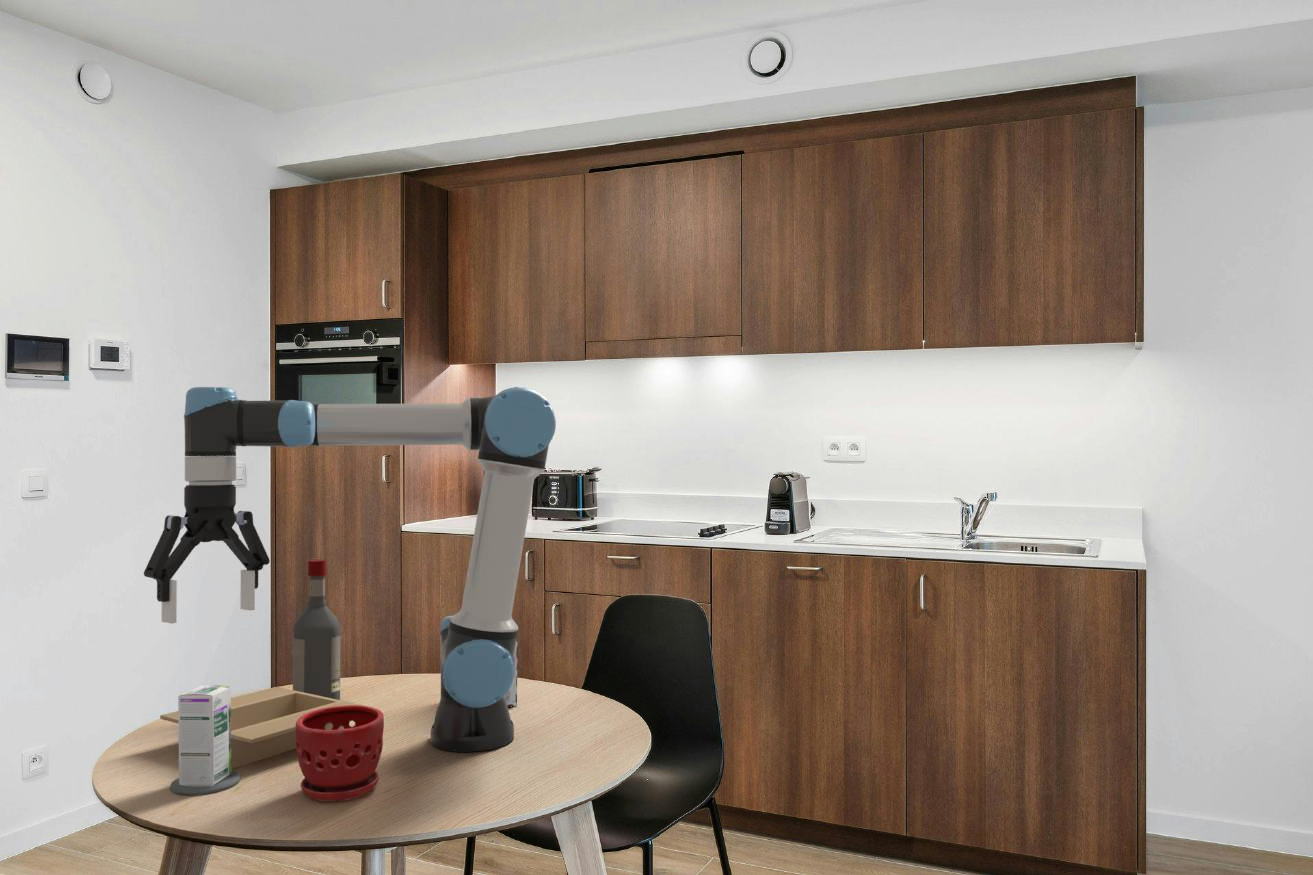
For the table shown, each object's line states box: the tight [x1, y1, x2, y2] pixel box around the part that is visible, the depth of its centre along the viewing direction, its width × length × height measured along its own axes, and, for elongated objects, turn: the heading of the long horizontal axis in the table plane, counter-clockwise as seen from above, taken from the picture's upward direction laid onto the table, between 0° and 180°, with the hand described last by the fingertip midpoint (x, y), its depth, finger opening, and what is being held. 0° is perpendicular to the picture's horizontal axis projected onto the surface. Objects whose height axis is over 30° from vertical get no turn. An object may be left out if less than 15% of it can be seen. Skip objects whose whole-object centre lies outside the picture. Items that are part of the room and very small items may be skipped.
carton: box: [159, 686, 366, 769], centre depth 172 cm, size 26×24×6 cm
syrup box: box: [177, 684, 233, 787], centre depth 151 cm, size 6×6×14 cm
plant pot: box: [296, 704, 385, 803], centre depth 148 cm, size 13×13×12 cm
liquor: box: [292, 558, 342, 700], centre depth 199 cm, size 9×9×30 cm
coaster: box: [170, 770, 241, 796], centre depth 151 cm, size 10×10×1 cm
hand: (209, 616), depth 152 cm, fingers open, 13 cm apart
